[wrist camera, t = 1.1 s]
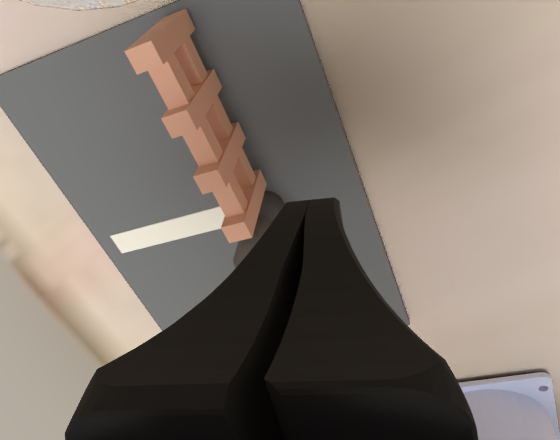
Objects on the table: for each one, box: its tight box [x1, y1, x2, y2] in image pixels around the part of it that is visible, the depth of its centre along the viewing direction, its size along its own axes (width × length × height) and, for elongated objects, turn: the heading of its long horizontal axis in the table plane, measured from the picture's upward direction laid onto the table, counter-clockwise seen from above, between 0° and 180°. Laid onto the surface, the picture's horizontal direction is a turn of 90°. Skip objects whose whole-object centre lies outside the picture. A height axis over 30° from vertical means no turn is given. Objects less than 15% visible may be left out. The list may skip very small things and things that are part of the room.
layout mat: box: [0, 0, 410, 331], centre depth 25 cm, size 19×14×1 cm
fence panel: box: [124, 8, 267, 243], centre depth 19 cm, size 8×1×4 cm, turn 21°
